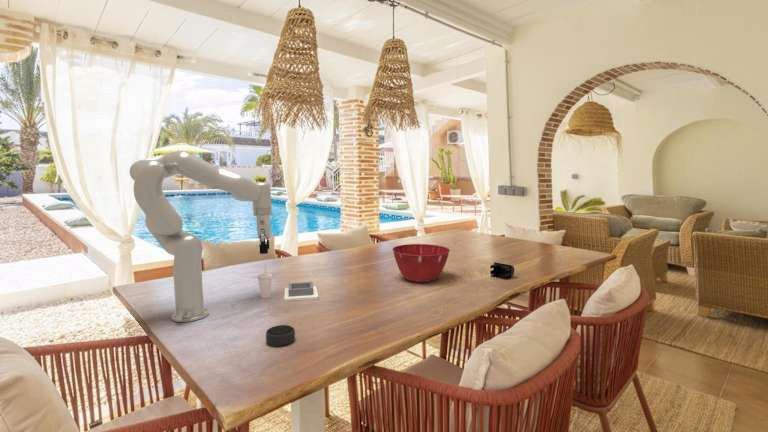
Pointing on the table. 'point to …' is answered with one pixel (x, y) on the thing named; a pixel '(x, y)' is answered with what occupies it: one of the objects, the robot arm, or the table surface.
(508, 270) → the end cap
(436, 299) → the table surface
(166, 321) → the table surface
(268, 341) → the smart speaker
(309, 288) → the socket board
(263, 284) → the smoothie
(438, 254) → the mixing bowl
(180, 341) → the table surface
